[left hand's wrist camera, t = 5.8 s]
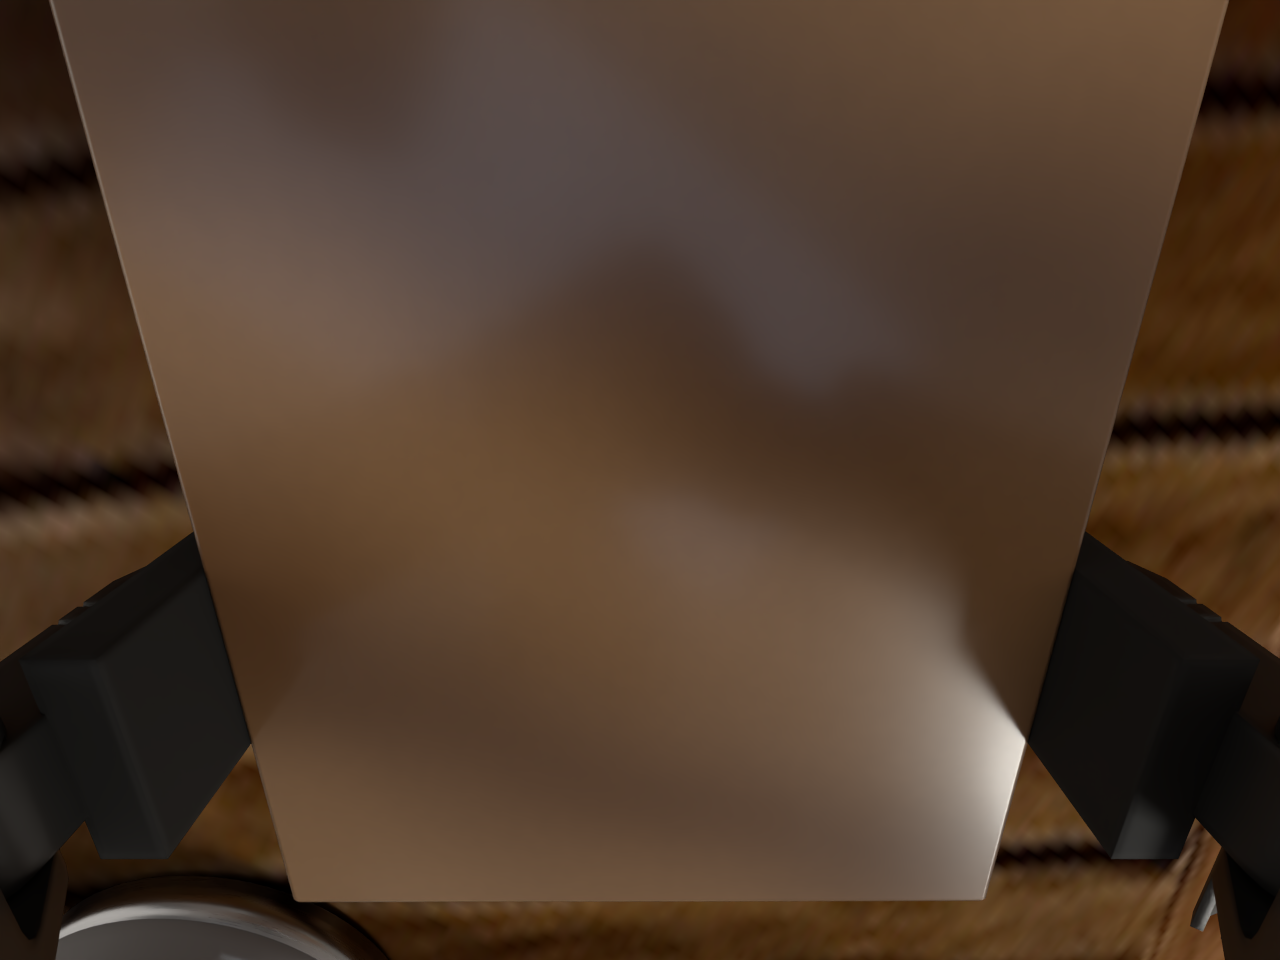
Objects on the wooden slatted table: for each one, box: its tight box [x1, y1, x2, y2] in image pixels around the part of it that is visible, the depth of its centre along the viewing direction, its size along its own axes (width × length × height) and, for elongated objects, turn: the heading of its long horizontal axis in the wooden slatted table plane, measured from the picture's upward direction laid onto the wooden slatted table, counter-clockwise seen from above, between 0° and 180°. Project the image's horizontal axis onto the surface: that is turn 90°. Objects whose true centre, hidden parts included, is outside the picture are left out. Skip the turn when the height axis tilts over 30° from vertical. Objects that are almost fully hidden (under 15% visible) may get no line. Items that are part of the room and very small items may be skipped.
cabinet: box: [49, 0, 1229, 902], centre depth 12 cm, size 21×11×12 cm, turn 0°
